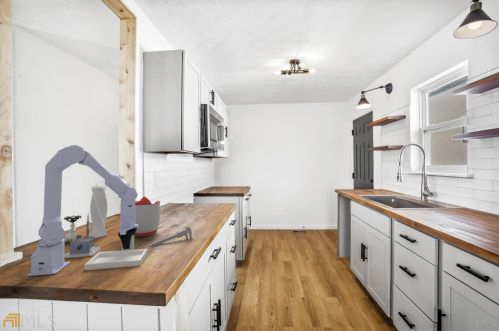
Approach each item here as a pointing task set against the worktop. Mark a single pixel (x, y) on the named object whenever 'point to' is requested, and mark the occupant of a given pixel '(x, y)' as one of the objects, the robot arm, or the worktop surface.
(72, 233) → the valve
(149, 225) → the citrus juicer
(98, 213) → the twisted vase
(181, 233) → the caliper
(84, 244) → the mounted unit
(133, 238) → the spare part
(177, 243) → the worktop surface
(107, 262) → the parts tray
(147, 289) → the worktop surface
